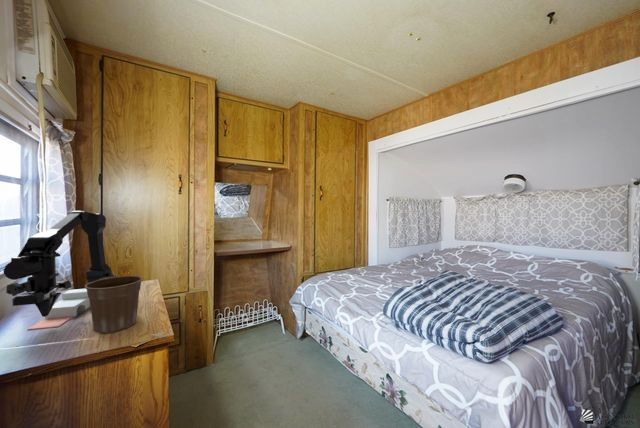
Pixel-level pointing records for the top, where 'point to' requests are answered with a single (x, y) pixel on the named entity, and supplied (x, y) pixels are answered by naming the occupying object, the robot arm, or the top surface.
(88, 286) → the plant pot
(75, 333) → the top surface
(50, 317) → the white stepped block
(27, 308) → the top surface
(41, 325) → the tailgate
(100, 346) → the top surface
